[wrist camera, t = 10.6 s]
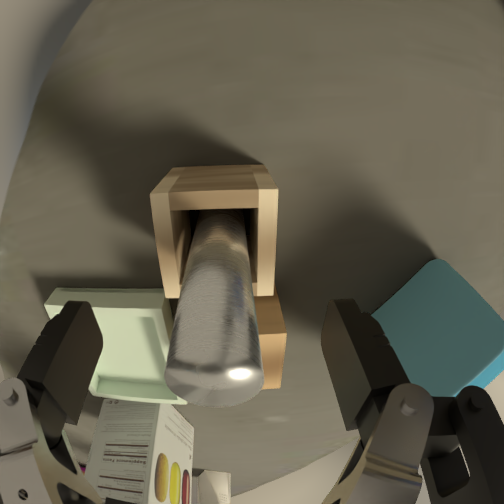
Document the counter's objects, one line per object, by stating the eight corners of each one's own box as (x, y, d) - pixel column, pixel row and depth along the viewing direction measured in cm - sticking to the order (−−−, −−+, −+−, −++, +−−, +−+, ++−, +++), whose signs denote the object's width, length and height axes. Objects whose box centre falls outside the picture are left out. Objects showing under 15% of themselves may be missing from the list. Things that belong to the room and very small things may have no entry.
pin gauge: (200, 189, 19) (154, 348, 7) (242, 188, 19) (266, 347, 7) (202, 227, 20) (174, 406, 8) (242, 226, 21) (262, 405, 8)
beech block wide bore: (172, 167, 18) (149, 193, 13) (263, 164, 19) (278, 189, 13) (180, 248, 21) (165, 298, 16) (262, 246, 21) (273, 295, 16)
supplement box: (196, 427, 34) (194, 539, 19) (140, 431, 34) (128, 531, 20) (161, 391, 29) (146, 528, 14) (101, 397, 30) (75, 512, 15)
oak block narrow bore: (197, 282, 22) (189, 336, 17) (274, 280, 23) (286, 333, 18) (204, 337, 25) (200, 391, 20) (270, 335, 26) (279, 387, 20)
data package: (367, 351, 28) (407, 444, 18) (344, 335, 27) (386, 440, 16) (450, 276, 25) (519, 354, 14) (435, 251, 23) (517, 335, 12)
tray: (56, 287, 22) (43, 304, 20) (167, 288, 23) (161, 308, 20) (98, 378, 28) (92, 395, 26) (188, 385, 29) (187, 404, 26)
